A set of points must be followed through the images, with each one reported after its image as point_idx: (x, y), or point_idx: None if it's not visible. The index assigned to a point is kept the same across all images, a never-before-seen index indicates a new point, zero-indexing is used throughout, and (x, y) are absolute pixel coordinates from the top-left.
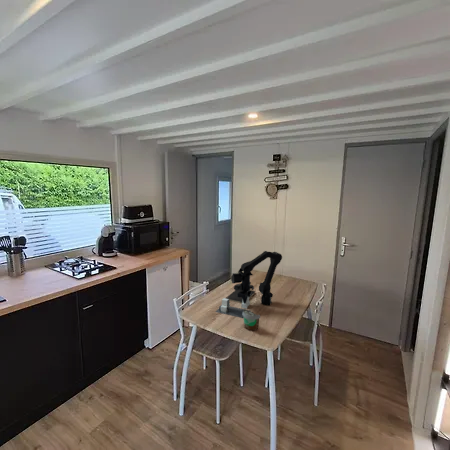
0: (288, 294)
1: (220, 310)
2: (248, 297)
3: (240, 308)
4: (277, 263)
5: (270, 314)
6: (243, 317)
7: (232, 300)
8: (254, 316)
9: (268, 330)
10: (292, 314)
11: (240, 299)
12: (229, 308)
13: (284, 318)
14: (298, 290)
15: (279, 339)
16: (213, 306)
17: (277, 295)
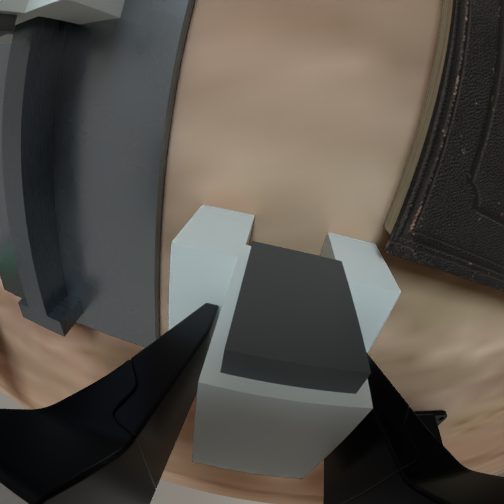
0: (479, 459)
1: None
2: (257, 472)
3: (155, 202)
4: None
5: (186, 444)
6: (7, 275)
7: (454, 6)
8: None
9: (27, 391)
10: (236, 492)
11: (497, 169)
12: (9, 64)
13: (174, 470)
14: (496, 464)
15: (17, 403)
16: None
17: (492, 436)
